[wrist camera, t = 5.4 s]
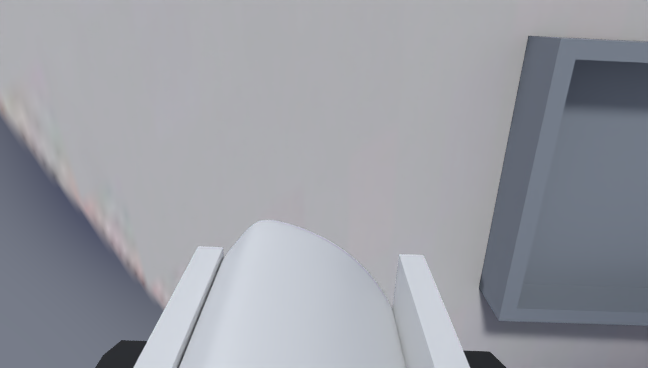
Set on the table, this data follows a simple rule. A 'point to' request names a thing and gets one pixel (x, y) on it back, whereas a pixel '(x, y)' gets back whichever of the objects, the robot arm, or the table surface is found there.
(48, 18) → the table surface
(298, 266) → the eye dropper bottle
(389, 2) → the table surface
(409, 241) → the table surface
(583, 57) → the tray
